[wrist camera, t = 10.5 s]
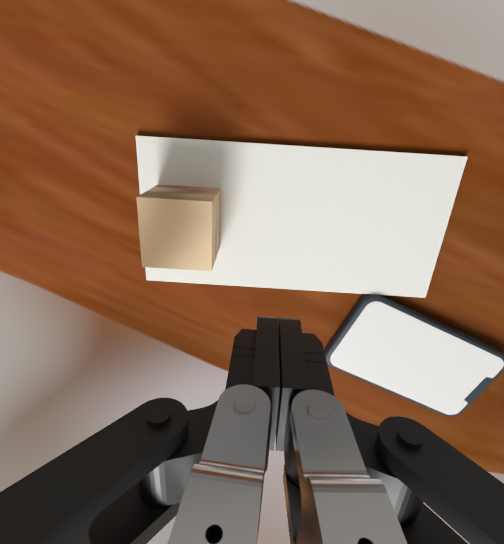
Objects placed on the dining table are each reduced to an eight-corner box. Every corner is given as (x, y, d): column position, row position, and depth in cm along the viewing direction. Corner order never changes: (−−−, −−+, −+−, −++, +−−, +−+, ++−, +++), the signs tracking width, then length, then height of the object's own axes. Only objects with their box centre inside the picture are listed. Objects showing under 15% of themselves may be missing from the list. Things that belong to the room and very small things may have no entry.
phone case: (317, 354, 34) (447, 410, 36) (319, 364, 33) (454, 422, 35) (365, 283, 31) (505, 349, 33) (370, 291, 30) (516, 360, 32)
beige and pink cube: (136, 197, 22) (157, 184, 27) (142, 266, 24) (161, 244, 29) (212, 201, 22) (220, 188, 27) (211, 271, 24) (219, 247, 29)
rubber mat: (464, 156, 26) (467, 156, 25) (423, 295, 31) (425, 297, 30) (137, 135, 26) (135, 135, 25) (147, 278, 31) (146, 280, 30)
